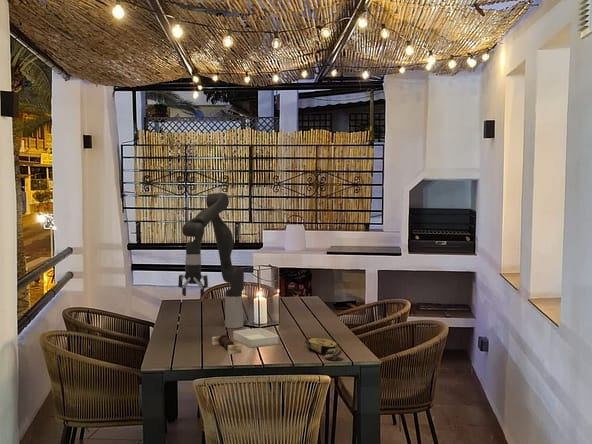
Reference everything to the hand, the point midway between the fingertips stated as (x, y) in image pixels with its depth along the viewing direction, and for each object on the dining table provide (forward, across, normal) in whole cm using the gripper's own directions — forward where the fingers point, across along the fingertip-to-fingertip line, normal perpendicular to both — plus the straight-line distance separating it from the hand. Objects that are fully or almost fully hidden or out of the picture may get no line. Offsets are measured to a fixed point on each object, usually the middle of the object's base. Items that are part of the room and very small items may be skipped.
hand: (193, 296), depth 298 cm
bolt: (+24, -19, +8) cm, 31 cm away
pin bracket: (+23, -19, +8) cm, 31 cm away
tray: (+23, -30, -7) cm, 39 cm away
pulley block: (+23, -66, +9) cm, 71 cm away
